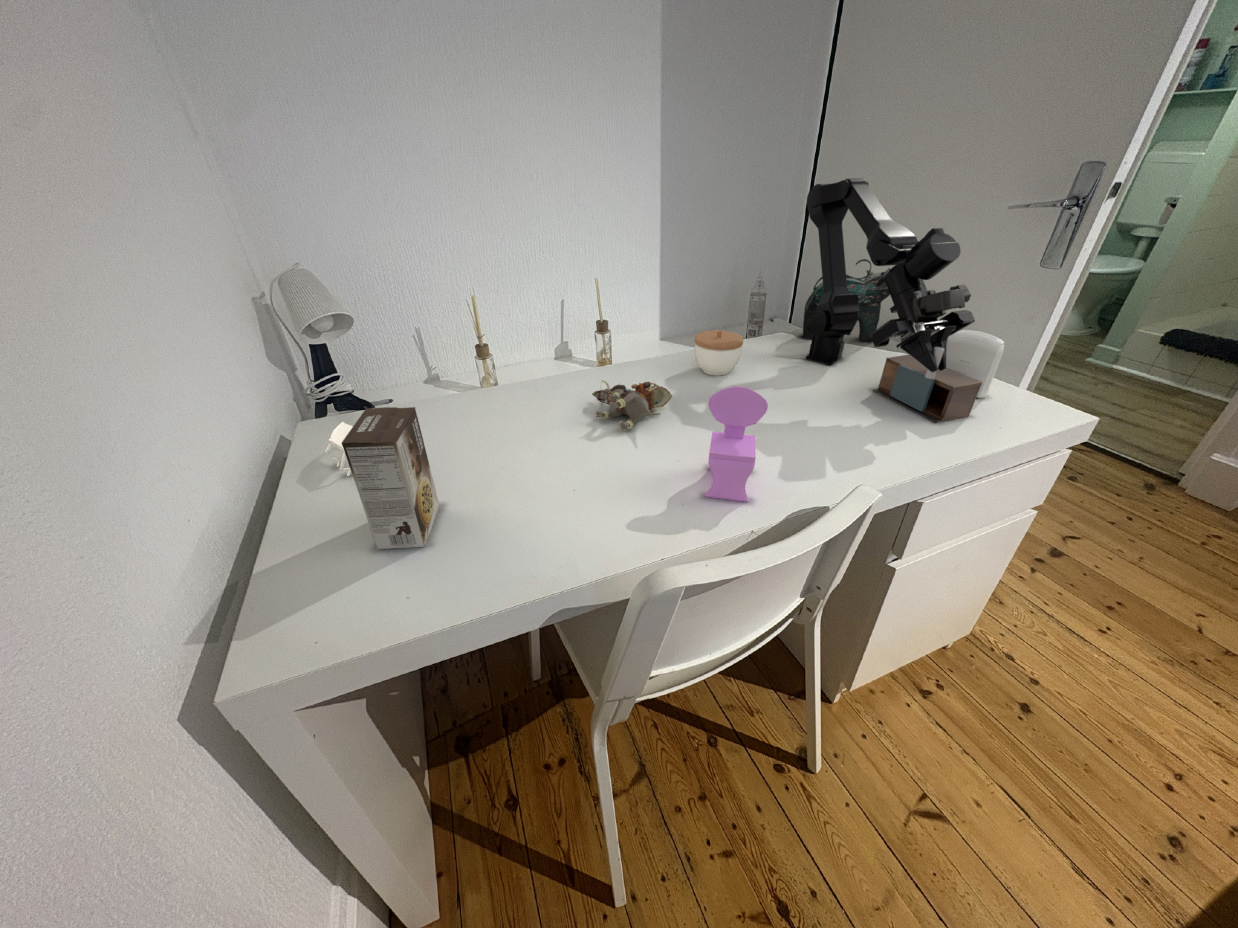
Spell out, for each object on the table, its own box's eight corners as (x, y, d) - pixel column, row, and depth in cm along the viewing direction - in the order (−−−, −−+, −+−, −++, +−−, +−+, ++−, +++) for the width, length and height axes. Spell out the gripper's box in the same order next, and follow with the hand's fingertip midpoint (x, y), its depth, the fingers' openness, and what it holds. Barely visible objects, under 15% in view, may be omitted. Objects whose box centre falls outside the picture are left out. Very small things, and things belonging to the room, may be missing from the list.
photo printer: (928, 385, 110) (947, 328, 103) (936, 380, 112) (956, 324, 105) (980, 400, 103) (1004, 341, 96) (989, 395, 105) (1013, 336, 99)
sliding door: (888, 395, 104) (905, 337, 97) (894, 394, 104) (912, 336, 98) (919, 412, 97) (940, 350, 91) (926, 411, 98) (947, 349, 91)
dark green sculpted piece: (876, 337, 137) (897, 258, 126) (881, 345, 131) (903, 263, 121) (799, 332, 141) (813, 255, 130) (800, 340, 135) (815, 260, 125)
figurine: (567, 384, 98) (626, 361, 109) (570, 413, 101) (627, 388, 112) (647, 409, 86) (705, 380, 96) (647, 441, 89) (703, 410, 99)
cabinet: (872, 390, 108) (881, 358, 104) (903, 385, 110) (913, 353, 106) (935, 423, 95) (948, 388, 91) (969, 416, 97) (982, 382, 93)
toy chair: (697, 497, 75) (706, 405, 67) (702, 466, 83) (711, 380, 75) (755, 504, 74) (771, 411, 66) (755, 472, 81) (769, 384, 73)
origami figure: (394, 462, 84) (386, 436, 82) (340, 481, 80) (330, 454, 77) (369, 436, 92) (361, 411, 89) (318, 452, 87) (309, 426, 85)
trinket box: (684, 373, 116) (687, 333, 111) (703, 359, 124) (706, 320, 119) (729, 383, 111) (733, 341, 106) (746, 367, 119) (751, 327, 114)
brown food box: (395, 508, 74) (365, 407, 65) (441, 505, 74) (417, 404, 66) (375, 550, 66) (338, 442, 57) (426, 547, 66) (396, 439, 58)
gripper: (902, 272, 86) (935, 357, 83) (984, 264, 91) (1019, 343, 88) (857, 308, 96) (885, 384, 93) (934, 299, 101) (963, 371, 98)
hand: (939, 370), depth 93 cm, fingers closed on sliding door, 2 cm apart
